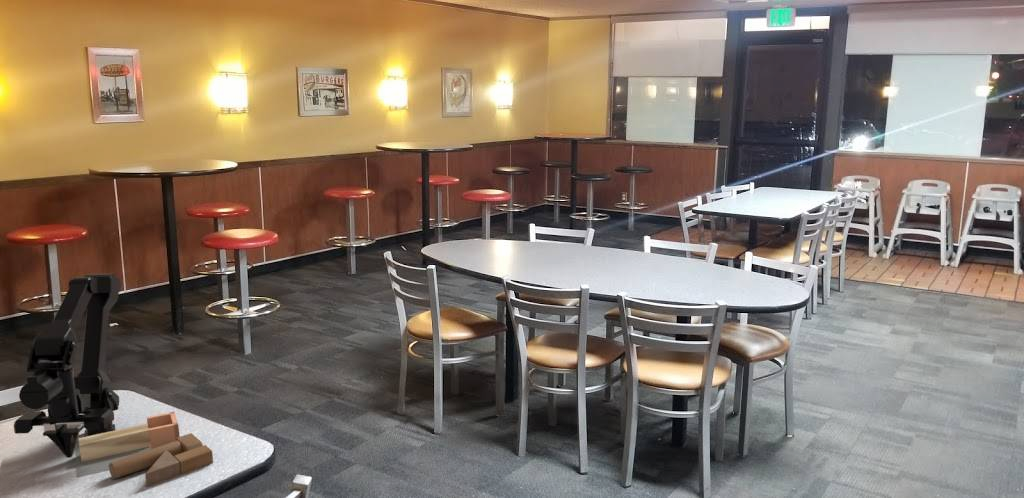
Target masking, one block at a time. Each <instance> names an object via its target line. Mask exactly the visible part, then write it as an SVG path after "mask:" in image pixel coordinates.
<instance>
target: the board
mask: <svg viewBox="0 0 1024 498" xmlns="http://www.w3.org/2000/svg"><path fill="white" fill-rule="evenodd" d="M150 442H151V440H150ZM150 449H152V448H151V446H149V447H145V448H141V449H136V450H132V451H128V452H123V453H119V454H115V455H110V456H106V457H102V458H97V459H93V460H89V461H84V462H82V461H81V454H80V447H79V448H76V452H75V453H76V455H75V456H76V457H75V458H76V461H75V462H76V478H81V477H86V476H89V475H94V474H99V473H103V472H107V471H109V463H111V462H113V461H116V460H119V459H122V458H125V457H128V456H131V455H134V454H137V453H140V452H144V451H147V450H150Z"/></svg>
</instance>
